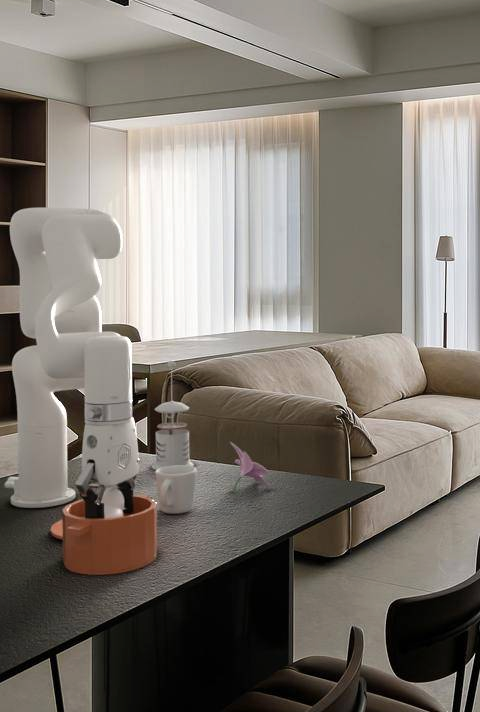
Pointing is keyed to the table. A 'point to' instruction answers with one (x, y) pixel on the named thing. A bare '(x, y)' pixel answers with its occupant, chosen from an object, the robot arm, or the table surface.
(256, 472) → the lily
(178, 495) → the cup
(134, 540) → the pot
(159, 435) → the white hanging lantern
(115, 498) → the toy creature
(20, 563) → the table surface
